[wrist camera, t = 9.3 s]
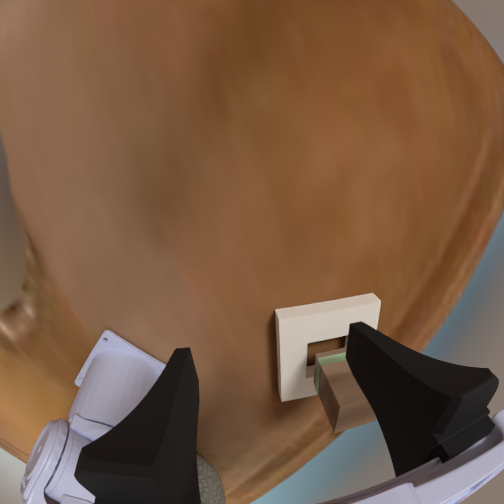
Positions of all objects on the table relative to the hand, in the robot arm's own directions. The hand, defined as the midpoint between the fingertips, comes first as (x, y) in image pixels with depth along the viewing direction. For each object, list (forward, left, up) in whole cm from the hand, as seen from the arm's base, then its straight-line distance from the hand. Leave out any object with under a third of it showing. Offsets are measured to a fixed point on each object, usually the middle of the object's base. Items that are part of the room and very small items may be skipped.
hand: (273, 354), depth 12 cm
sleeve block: (-2, -11, -10) cm, 15 cm away
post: (-2, -11, -8) cm, 14 cm away
